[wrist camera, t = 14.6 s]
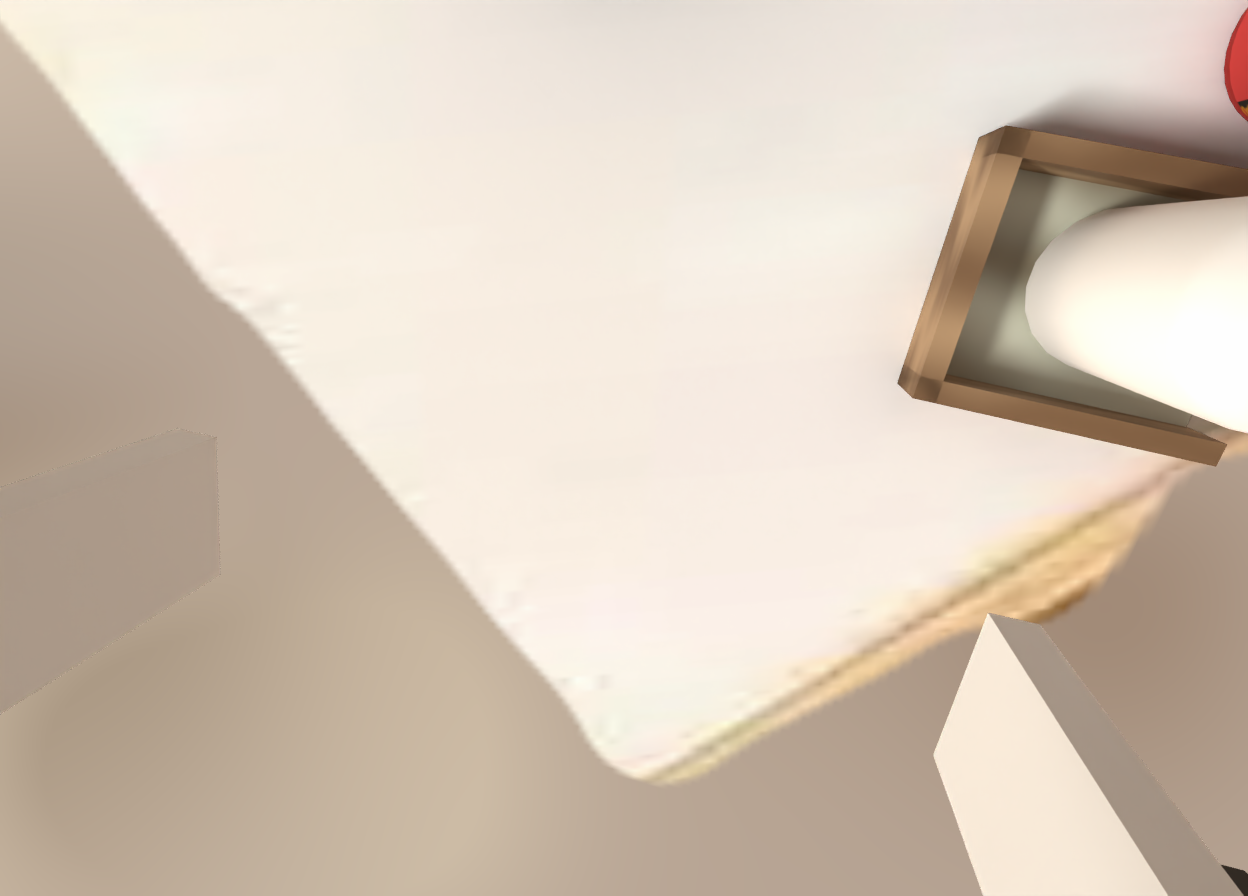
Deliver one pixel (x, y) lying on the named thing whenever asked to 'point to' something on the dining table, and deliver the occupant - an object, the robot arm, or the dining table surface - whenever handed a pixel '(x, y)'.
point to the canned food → (1238, 67)
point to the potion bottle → (1153, 303)
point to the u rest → (1000, 269)
